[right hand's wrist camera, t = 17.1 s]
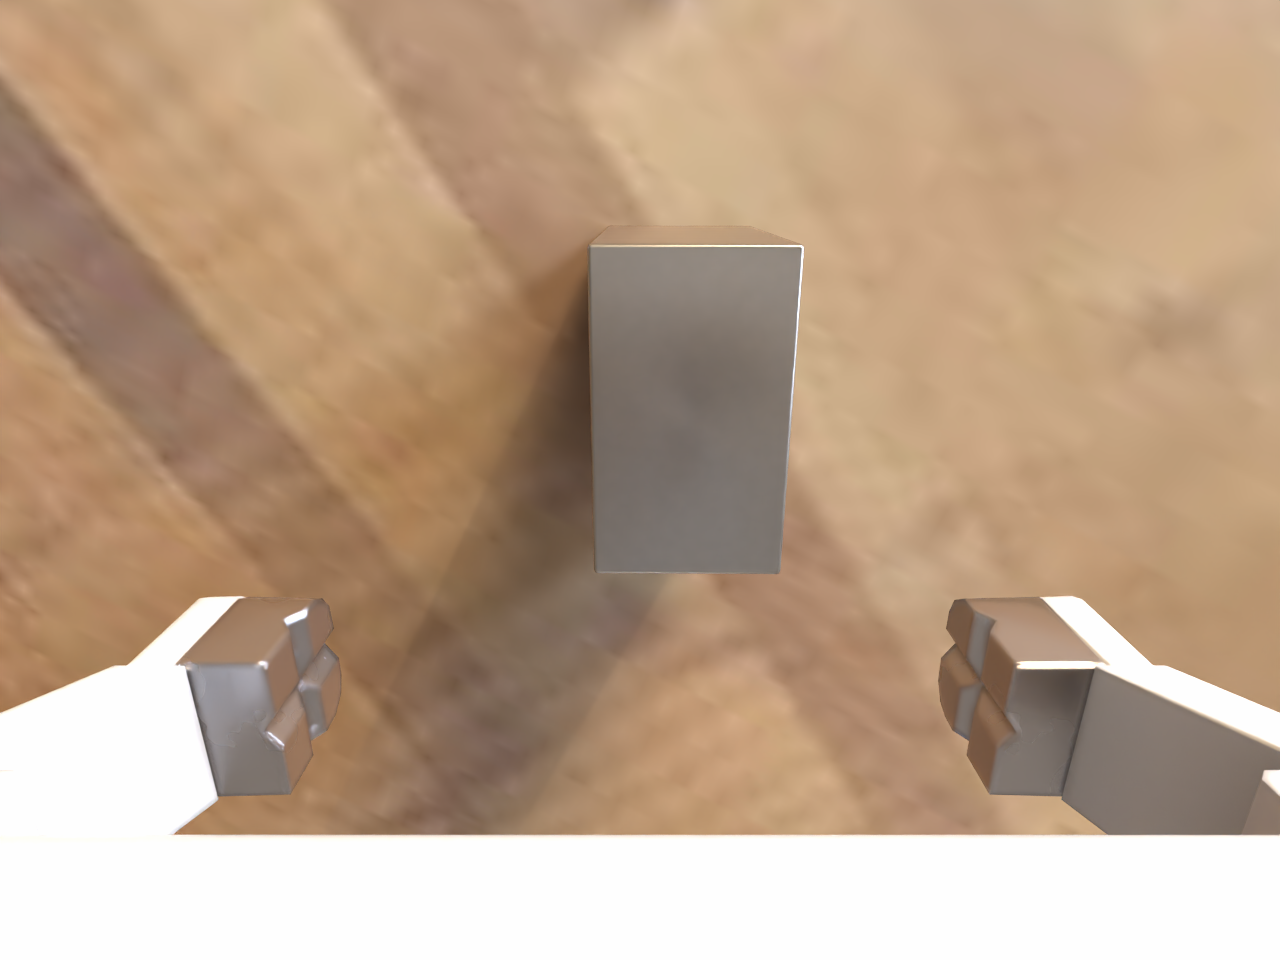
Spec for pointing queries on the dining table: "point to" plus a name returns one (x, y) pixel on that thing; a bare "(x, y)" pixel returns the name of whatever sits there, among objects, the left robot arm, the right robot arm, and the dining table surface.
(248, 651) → the right robot arm
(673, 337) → the block
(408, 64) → the dining table surface
